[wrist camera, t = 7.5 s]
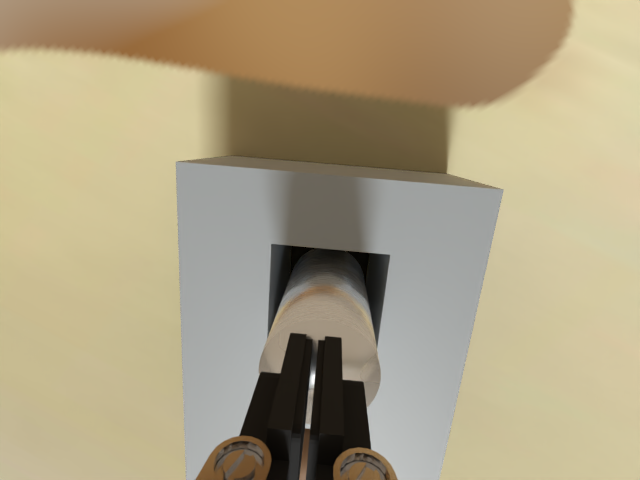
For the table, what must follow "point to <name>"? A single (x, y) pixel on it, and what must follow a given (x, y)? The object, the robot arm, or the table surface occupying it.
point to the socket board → (381, 285)
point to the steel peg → (327, 318)
